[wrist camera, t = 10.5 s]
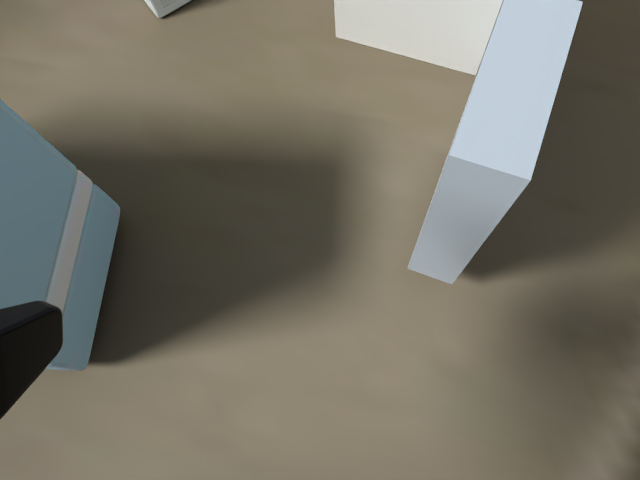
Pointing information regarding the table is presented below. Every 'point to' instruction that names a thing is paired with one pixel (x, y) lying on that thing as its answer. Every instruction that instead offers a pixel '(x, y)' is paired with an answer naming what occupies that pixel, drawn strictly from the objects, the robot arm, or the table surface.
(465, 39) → the large white box
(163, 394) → the table surface
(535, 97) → the camera side door
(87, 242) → the radio
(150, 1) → the supplement box
